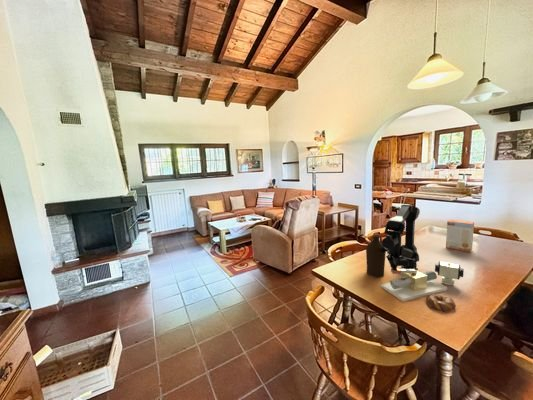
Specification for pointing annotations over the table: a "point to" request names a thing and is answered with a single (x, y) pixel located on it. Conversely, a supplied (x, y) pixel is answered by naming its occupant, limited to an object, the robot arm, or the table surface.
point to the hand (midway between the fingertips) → (394, 270)
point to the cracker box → (459, 235)
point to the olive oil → (375, 257)
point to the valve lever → (403, 271)
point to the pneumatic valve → (449, 272)
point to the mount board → (409, 294)
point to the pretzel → (440, 302)
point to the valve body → (413, 280)
